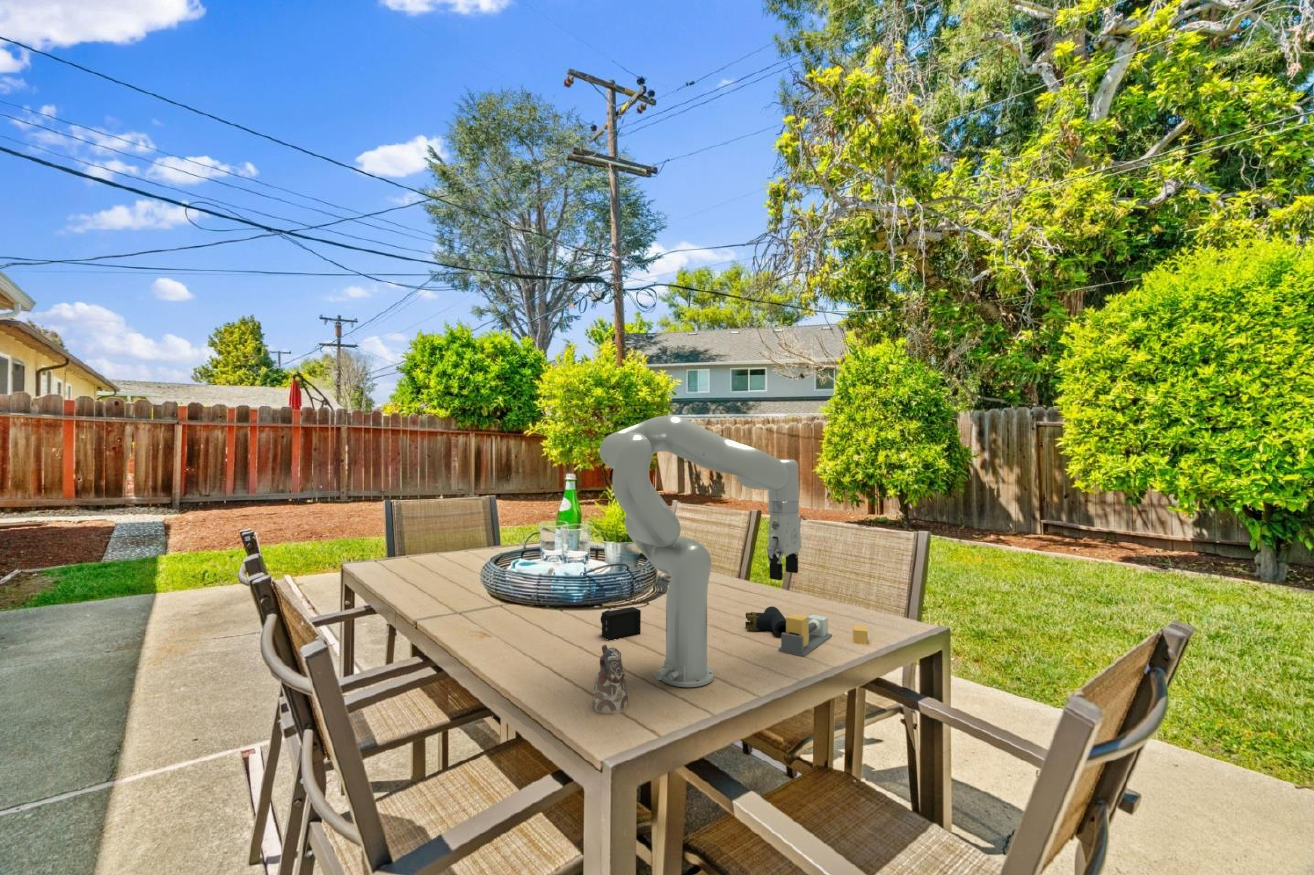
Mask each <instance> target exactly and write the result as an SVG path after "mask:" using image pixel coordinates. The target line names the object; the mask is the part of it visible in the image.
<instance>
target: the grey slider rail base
mask: <svg viewBox="0 0 1314 875" xmlns="http://www.w3.org/2000/svg"><path fill="white" fill-rule="evenodd" d="M807 616H808V617H809V644H808V645H807V646H805V647H804V637H803V636H799V634H797V633H794V634H789V633H784V632H783V633H781V638H780V639H781V640H780V641H781V645H780V647H778V652H782V653H786V654H790V655H794V656H799V657H803V658H804V657H806V656H807V655H809V654H810V653H811V652H813V651H814V650H816V649H817V648H818V647H820V646H821V645H823V644H824V643H825V642H826V641H828V640H830V639H831V638H832V637H833V634H832V633H829V618H828V617H827V616H822V615H817V614H810V615H807ZM830 637H831V638H830ZM816 647H817V648H816ZM815 648H816V649H815Z"/></svg>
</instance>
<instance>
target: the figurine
mask: <svg viewBox="0 0 1314 875" xmlns="http://www.w3.org/2000/svg"><path fill="white" fill-rule="evenodd" d="M601 650H602V651H601V652H602V655H601V656H600V658H599V667H600V669H599V671H598V672H597V675H596V679H595V682H594V683H595V684H594V688H593V697H592V706H593V709H594V711H595V712H597V713H599V714H604V715H605V714H606V715H607V714H609V715H616V714H617V715H618V714H620V713H623V712H625V711H626V710H627V708H629V703H630V702H629V696H628V688H627V687H628V686H627V676H626V674H627V672H626V671H625V670H624V668H623V667H624V666H623V662H622V661H623V660H622V652H620V651H619V650H618V649H617V648H615V647H608V646H607V644H603V645H601Z"/></svg>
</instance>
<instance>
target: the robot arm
mask: <svg viewBox="0 0 1314 875" xmlns="http://www.w3.org/2000/svg"><path fill="white" fill-rule="evenodd" d="M661 452H664V453H665V452H666V453H667V452H668V453H670V454H672V455H675V456H677V457H679V458H681V459H683V460H686V461H687V462H688V461H689V462H690V463H693V464H695V465H697V466H699V467H701V468H703V469H706V470H708V471H712V472H716V473H720V474H721V473H722V474H727V475H733V476H736V479H737V481H738V482H739V484H740V485H742V486H743V487H744V488H748V489H753V490H764V491H768V498H767V499H768V514H769V523H768V545H767V547H766V551H767V557H768V558H767V559H768V563H769V579H771V580H774V581H775V580H776V581H782V580H783V579H784V578H783V576H784V575H783V563H782V559H783V557H784V555H785V572H786V573H793V574H797V573H799V555H800V554H799V551H800V550H801V548H802V544H801V543H802V539H801V538H802V537H801V524H800V518H799V517H800V516H799V513H800V512H799V511H800V509H799V508H800V505H799V503H800V502H799V501H800V500H799V499H800V498H799V497H800V494H799V492H800V491H799V488H800V487H799V486H800V484H799V481H800V480H799V464H798V462H797V460H796V459H790V458H789V459H786V458H784V459H783V458H780V459H779V458H778V457H777V458H776V457H775V456H773V455H770V454H769V453H767V452H764V451H762V450H760V449H758V448H755V447H753V446H749V445H746V444H743V443H741V442H737V441H736V440H733V439H730V438H726V437H723V436H721V435H719V434H717V433H714V432H712V431H710V430H708V429H706V428H705V427H702V426H700V425H698V424H697V423H694V422H692V421H690V420H688V419H686V418H684V417H682V416H680V415H679V416H678V415H670V414H669V415H662V416H656V417H652V418H649V419H647V420H643V421H641V422H639V423H637V424H634V425H631V426H628V427H626V428H624V429H621V430H618V431H616V432H612V433H611V434H609V435H607V436H606V437H605V438H604V439H603V440H602V442H601V444H600V447H599V456H600V459H601V461H602V463H603V464H605V466H607V467H609V468H610V469H613V471H612V491H613V495H614V497H615V499H616V501H617V503H618V504H619V506H620V508H621V509H622V510H623V511H624V513H625V518H624V525H625V530H626V533H627V535H628V536H629V538H630V540H631V541H632V542H633V543H634V544H635V545H636V547H637V548H638V549H639V550H640V552H641V553H642V554H643V555H644V557H645V558H646V559H647V560H648V562H649V563H650V565H652V566H653V567H654V568H655V569H656V570H657V571H659V572H661V573H662V574H665V575H667V576H670V578H669V579H670V580H669V584H668V587H667V592H666V597H665V613H666V614H665V616H666V617H665V660H664V664H663V665H664V666H663V667H661V668H660V669H659V670H657V671H655V673H654V676H655V679H656V680H658V681H662V682H663V683H665V684H667V685H669V686H673V687H678V688H679V687H680V688H698V687H702V686H705V685H708V684H710V683H711V682H713V680H714V678H715V673H714V670H713V669H712V668H711V667H710V666H708V589H709V581H710V577H711V576H710V575H711V571H712V558H711V555H710V553H709V551H708V549H707V548H706V547H705V546H704V545H703V544H701V543H700V542H698V541H696V540H693V539H690V538H687V537H682V536H680V535H681V530H682V529H681V528H682V527H681V523H680V521H679V518H678V516H677V515H676V514H675V513H674V511H673V510H672V509H671V508H670V506H669V505H668V503H667V502H665V500H664V499H663V497H662V496H661V495H660V494H659V493H658V491H657V489H656V488H655V486H654V484H653V483H652V481H651V478H650V466H651V463H652V459H653V455H655V454H656V453H661Z"/></svg>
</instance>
